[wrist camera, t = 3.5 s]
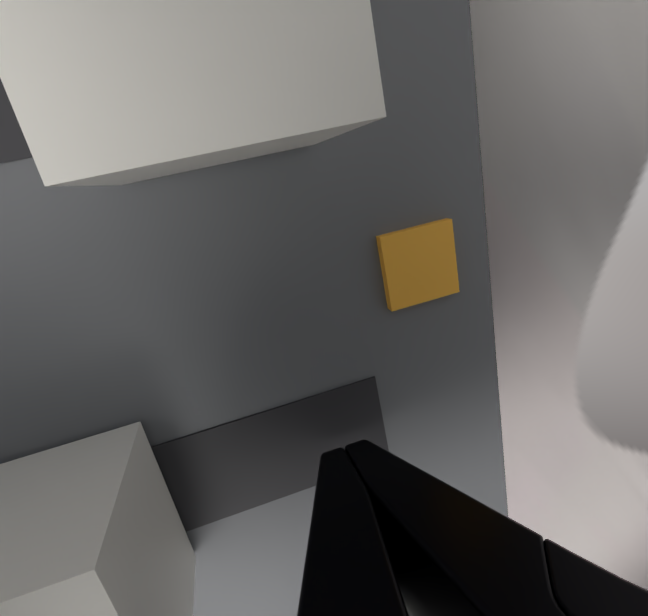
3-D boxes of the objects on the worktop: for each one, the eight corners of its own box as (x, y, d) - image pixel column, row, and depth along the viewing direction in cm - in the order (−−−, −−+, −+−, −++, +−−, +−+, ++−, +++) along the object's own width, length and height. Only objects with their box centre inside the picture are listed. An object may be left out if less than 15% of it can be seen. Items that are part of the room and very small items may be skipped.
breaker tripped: (195, 556, 8) (186, 744, 6) (34, 614, 8) (-66, 855, 5) (140, 421, 7) (93, 569, 4) (-51, 479, 7) (-237, 688, 4)
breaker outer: (314, 144, 7) (386, 117, 4) (120, 185, 6) (44, 185, 3) (265, -105, 6) (315, -388, 3) (27, -82, 5) (-194, -393, 2)
